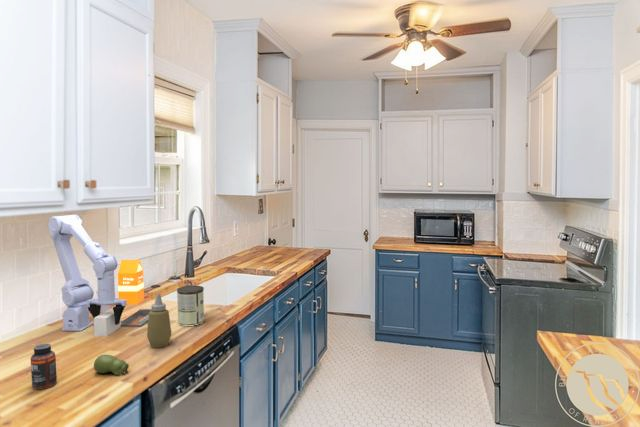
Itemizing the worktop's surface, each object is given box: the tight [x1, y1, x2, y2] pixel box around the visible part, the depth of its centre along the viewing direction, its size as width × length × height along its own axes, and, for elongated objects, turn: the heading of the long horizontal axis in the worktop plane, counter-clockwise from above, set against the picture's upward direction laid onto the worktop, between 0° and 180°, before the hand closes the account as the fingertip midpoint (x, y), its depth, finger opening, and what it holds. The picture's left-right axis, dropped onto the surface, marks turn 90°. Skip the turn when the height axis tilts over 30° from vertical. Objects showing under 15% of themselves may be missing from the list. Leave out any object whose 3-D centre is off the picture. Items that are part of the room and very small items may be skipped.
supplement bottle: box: [30, 343, 58, 390], centre depth 122 cm, size 6×6×11 cm
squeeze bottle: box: [146, 293, 172, 348], centre depth 152 cm, size 8×8×18 cm
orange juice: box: [117, 259, 145, 305], centre depth 205 cm, size 8×9×20 cm
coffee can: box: [176, 285, 205, 327], centre depth 176 cm, size 10×10×14 cm
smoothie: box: [95, 289, 112, 314], centre depth 190 cm, size 6×6×14 cm
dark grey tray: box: [120, 308, 152, 328], centre depth 180 cm, size 16×8×2 cm, turn 178°
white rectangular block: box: [93, 309, 121, 337], centre depth 166 cm, size 10×4×7 cm, turn 178°
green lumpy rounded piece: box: [93, 354, 130, 376], centre depth 131 cm, size 6×5×10 cm
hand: (107, 323), depth 166 cm, fingers open, 7 cm apart
